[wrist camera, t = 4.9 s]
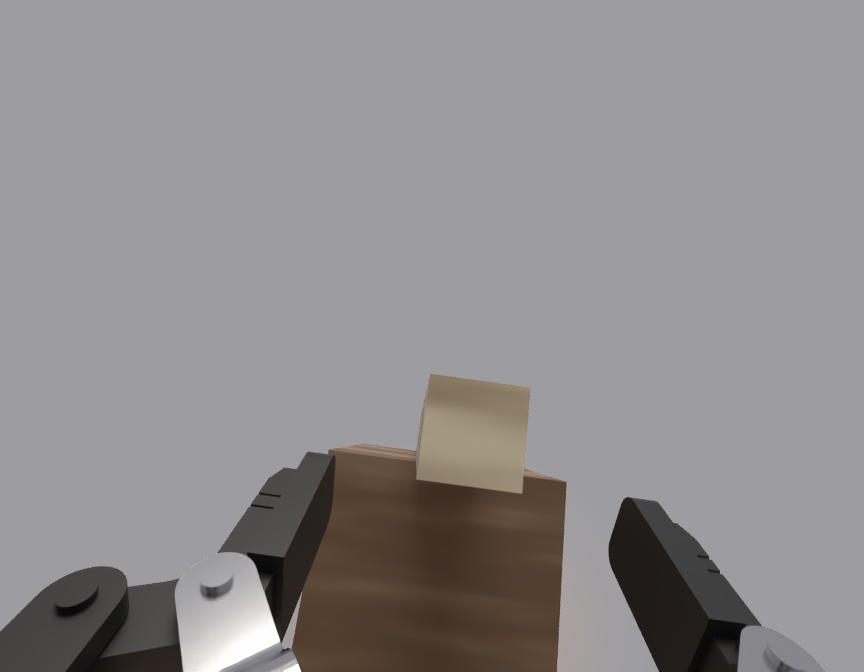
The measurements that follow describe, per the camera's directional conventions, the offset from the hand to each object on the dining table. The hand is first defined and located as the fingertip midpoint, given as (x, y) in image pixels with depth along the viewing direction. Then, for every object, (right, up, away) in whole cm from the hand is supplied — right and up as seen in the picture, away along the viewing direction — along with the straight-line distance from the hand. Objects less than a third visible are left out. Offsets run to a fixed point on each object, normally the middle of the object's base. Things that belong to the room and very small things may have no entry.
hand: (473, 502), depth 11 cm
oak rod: (0, -2, +12) cm, 12 cm away
